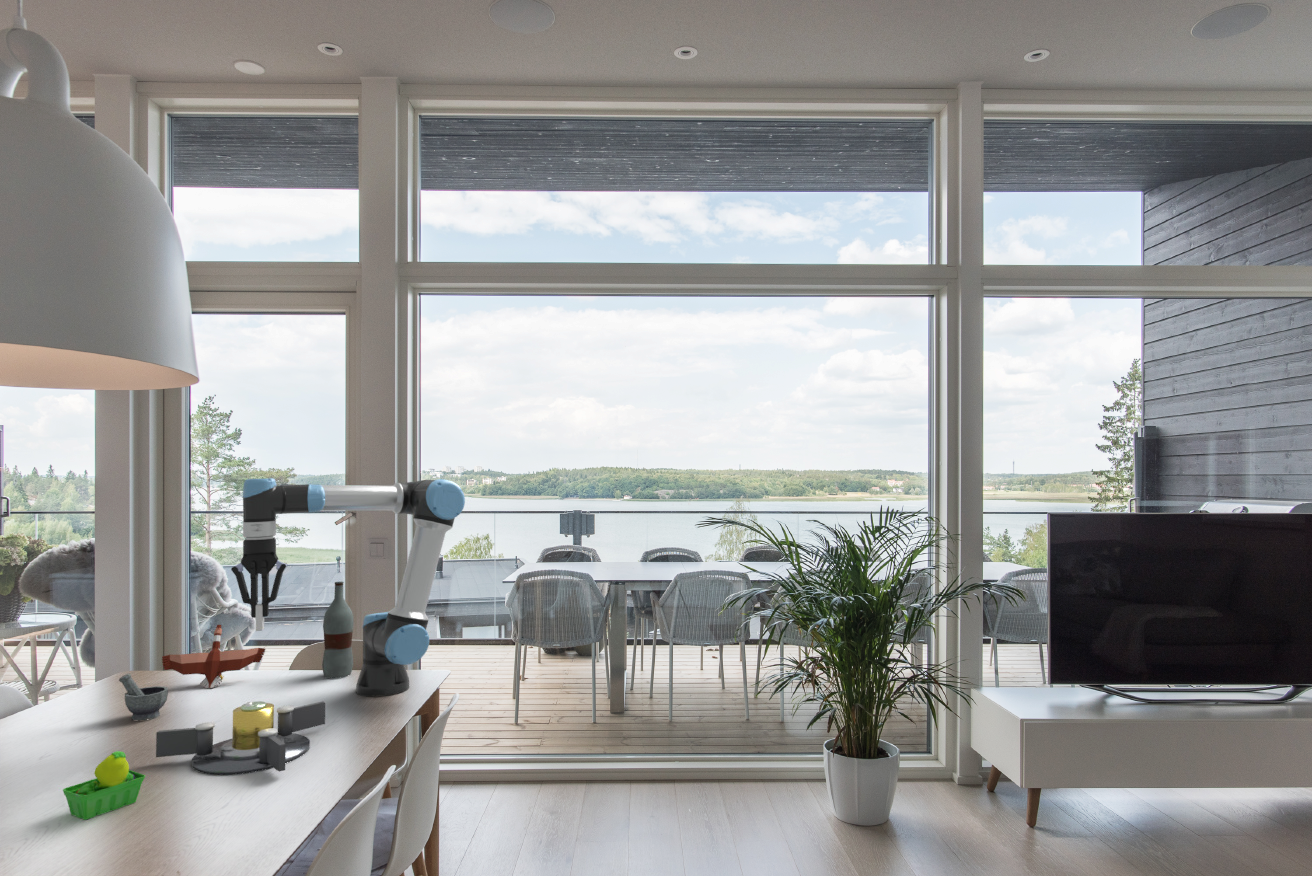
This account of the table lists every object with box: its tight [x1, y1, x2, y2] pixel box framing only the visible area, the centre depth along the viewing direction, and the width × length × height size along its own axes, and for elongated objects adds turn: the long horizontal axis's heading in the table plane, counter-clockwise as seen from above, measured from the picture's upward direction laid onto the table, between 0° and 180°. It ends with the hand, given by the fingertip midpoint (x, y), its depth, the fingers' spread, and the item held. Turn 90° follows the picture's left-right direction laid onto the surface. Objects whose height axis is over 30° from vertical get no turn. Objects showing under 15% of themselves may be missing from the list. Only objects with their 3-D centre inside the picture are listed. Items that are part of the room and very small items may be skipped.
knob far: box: [155, 721, 216, 758], centre depth 170 cm, size 12×4×6 cm, turn 105°
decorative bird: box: [161, 624, 266, 690], centre depth 235 cm, size 28×18×15 cm, turn 110°
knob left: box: [258, 728, 286, 772], centre depth 164 cm, size 12×4×6 cm, turn 45°
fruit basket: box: [62, 750, 146, 821], centre depth 145 cm, size 11×9×11 cm
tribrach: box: [191, 700, 311, 776], centre depth 174 cm, size 24×24×12 cm
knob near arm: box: [276, 700, 326, 736], centre depth 186 cm, size 12×4×6 cm, turn 138°
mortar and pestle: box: [118, 673, 169, 722], centre depth 201 cm, size 11×9×12 cm
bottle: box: [321, 581, 355, 679], centre depth 244 cm, size 9×9×30 cm
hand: (260, 629), depth 193 cm, fingers closed
